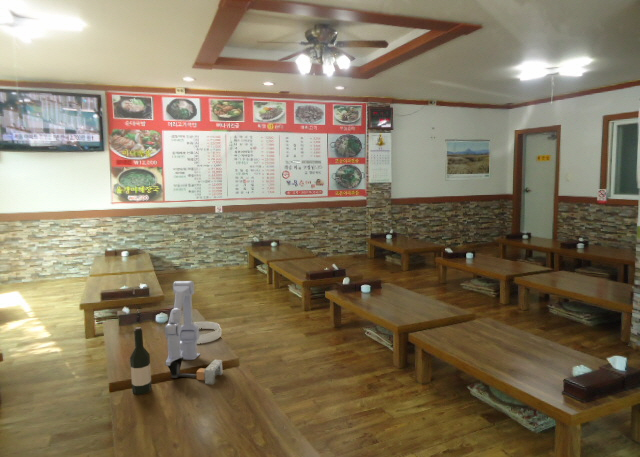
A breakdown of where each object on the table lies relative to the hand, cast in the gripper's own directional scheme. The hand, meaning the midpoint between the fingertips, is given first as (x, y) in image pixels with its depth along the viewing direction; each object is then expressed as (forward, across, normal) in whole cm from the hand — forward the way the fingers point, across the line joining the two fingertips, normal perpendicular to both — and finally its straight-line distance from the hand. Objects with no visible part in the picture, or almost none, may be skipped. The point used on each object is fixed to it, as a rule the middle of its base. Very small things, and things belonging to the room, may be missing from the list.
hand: (175, 373), depth 223 cm
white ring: (+2, +56, +12) cm, 57 cm away
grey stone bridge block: (+1, 0, -20) cm, 20 cm away
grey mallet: (+1, 0, -8) cm, 8 cm away
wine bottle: (+2, -16, +8) cm, 18 cm away
